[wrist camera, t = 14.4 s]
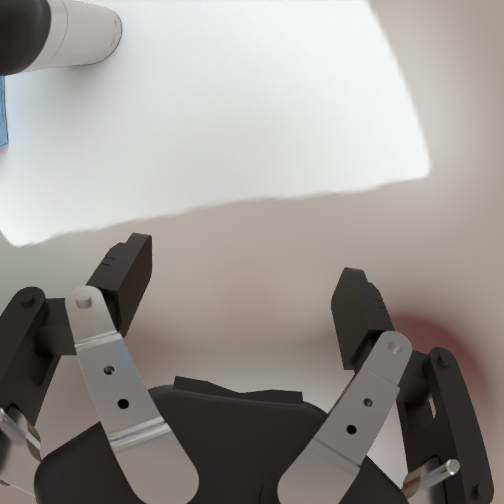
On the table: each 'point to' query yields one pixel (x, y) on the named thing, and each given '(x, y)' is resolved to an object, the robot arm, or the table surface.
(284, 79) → the table surface
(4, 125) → the blue product box
